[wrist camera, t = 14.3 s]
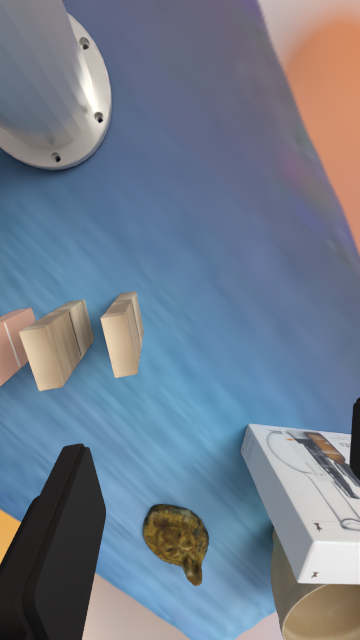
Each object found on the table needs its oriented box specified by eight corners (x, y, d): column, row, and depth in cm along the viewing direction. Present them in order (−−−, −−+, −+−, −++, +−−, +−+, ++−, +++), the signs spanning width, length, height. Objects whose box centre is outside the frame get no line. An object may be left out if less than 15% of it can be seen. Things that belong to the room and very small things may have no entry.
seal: (127, 510, 40) (176, 563, 44) (120, 545, 36) (176, 600, 40) (177, 489, 38) (224, 545, 42) (176, 522, 34) (228, 582, 38)
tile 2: (79, 341, 30) (38, 391, 20) (68, 301, 29) (18, 331, 18) (94, 339, 30) (62, 387, 20) (84, 299, 29) (43, 327, 19)
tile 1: (28, 350, 30) (-40, 404, 20) (15, 310, 29) (-67, 345, 18) (44, 347, 30) (-16, 400, 20) (31, 307, 29) (-40, 341, 18)
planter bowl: (259, 494, 40) (295, 581, 29) (353, 491, 42) (419, 573, 31) (245, 566, 44) (273, 664, 34) (331, 560, 46) (382, 652, 35)
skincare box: (376, 432, 39) (520, 552, 23) (364, 461, 40) (492, 592, 25) (247, 419, 36) (315, 545, 21) (238, 451, 37) (295, 591, 22)
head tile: (128, 333, 31) (114, 377, 20) (120, 293, 29) (100, 318, 19) (143, 331, 31) (137, 373, 20) (136, 291, 29) (124, 314, 19)
